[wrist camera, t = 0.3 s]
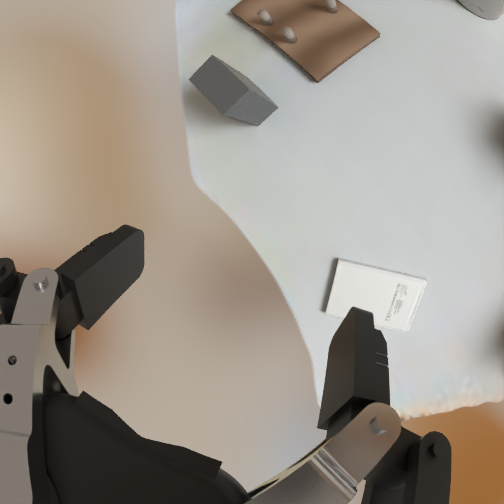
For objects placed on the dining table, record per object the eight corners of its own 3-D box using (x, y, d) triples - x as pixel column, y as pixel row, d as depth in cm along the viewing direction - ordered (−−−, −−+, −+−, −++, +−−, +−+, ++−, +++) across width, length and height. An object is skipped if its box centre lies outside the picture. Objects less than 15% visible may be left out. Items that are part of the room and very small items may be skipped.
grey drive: (278, 107, 31) (249, 89, 22) (258, 126, 33) (223, 115, 24) (247, 77, 31) (211, 54, 22) (229, 95, 33) (188, 78, 24)
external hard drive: (339, 256, 35) (425, 276, 31) (326, 309, 38) (405, 327, 34) (338, 260, 34) (427, 281, 30) (324, 315, 37) (407, 334, 33)
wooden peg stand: (379, 37, 23) (381, 22, 20) (318, 82, 28) (313, 72, 25) (287, -28, 23) (279, -43, 19) (233, 13, 28) (220, 1, 24)
